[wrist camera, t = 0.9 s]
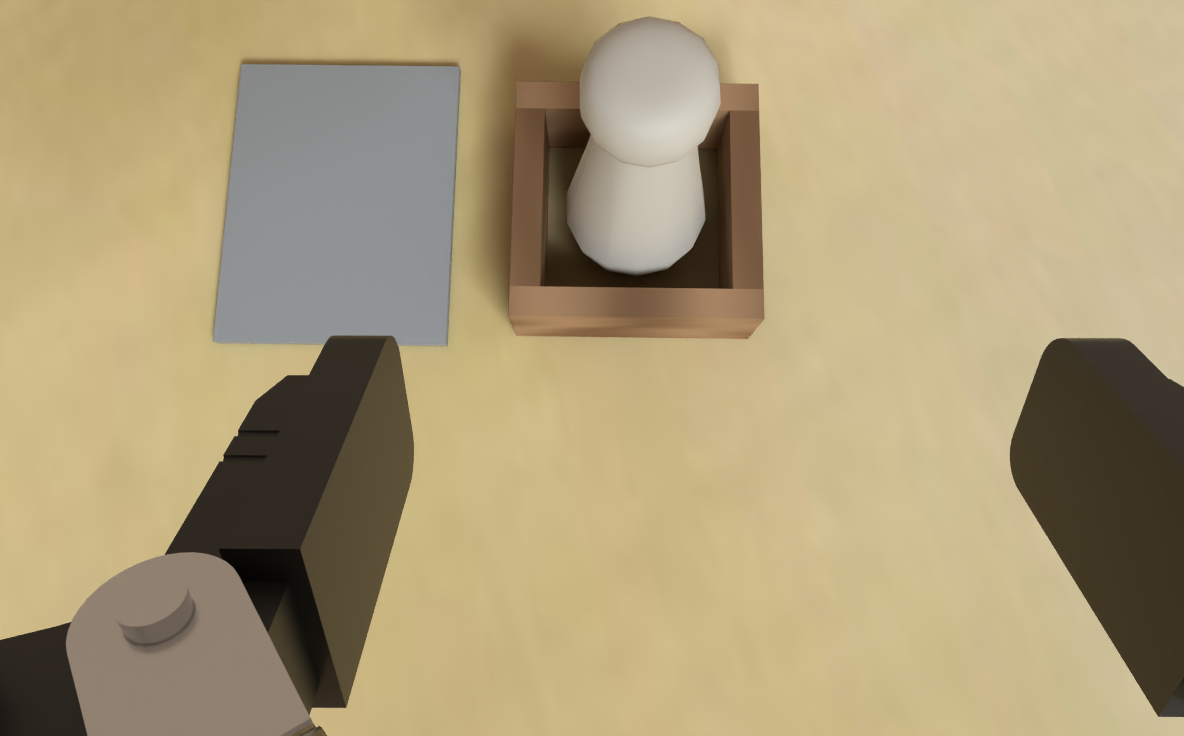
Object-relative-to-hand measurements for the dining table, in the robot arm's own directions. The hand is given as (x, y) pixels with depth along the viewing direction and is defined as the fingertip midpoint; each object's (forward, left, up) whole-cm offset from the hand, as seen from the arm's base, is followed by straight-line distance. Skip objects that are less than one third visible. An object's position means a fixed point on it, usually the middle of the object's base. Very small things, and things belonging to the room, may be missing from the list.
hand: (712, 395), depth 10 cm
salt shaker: (0, +11, -25) cm, 27 cm away
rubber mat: (-13, +12, -24) cm, 30 cm away
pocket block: (0, +11, -24) cm, 27 cm away
